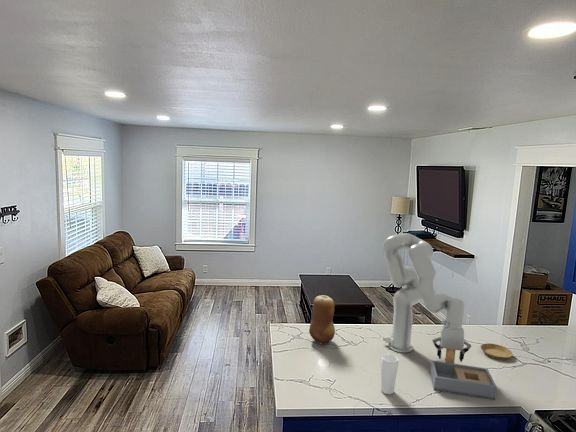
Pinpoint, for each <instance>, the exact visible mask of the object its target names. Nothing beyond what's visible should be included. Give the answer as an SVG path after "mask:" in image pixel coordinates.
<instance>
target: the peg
mask: <svg viewBox="0 0 576 432" xmlns="http://www.w3.org/2000/svg"><path fill="white" fill-rule="evenodd" d="M455 358H456V350H452V349H446V348H445V359H444V362H446V363H453V364H455Z"/></svg>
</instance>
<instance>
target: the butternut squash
mask: <svg viewBox="0 0 576 432" xmlns="http://www.w3.org/2000/svg"><path fill="white" fill-rule="evenodd" d="M334 316H335V301H334V300H333V298H331V297H330V296H328V295H323V294H321V295H318V296H316V297H315V298H314V299H313V303H312V316H311V322H310V324H309V329H308V331H309V335H310V337H311V339H313V341H315V342H317V343H318V344H320V345H327V344H329V343H331V341H332V340H333V339H334V338H335V334H336V329H335V325H334V321H333V319H334Z"/></svg>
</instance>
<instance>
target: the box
mask: <svg viewBox="0 0 576 432" xmlns="http://www.w3.org/2000/svg"><path fill="white" fill-rule="evenodd" d="M429 374H430V378H431V382H432V383H431V384H432V387H433V391H437V392H442V393H443V392H444V393H448V394H449V393H450V394H456V395H461V396H466V397H467V396H468V397H475V398H480V399H486V400H492V401H495V400H496V392H497V386H496V383H495V381H494V379H493V376H492V375H491V373H490V371H489V369H488V368H486V367H478V366H472V365H465V364H457V363H454V364H453V363H446V362H445V361H439V360H437V361H436V360H430V368H429Z"/></svg>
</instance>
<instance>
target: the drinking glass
mask: <svg viewBox="0 0 576 432" xmlns="http://www.w3.org/2000/svg"><path fill="white" fill-rule="evenodd" d="M398 367H399V358H398V357H397V356H395V355H393V354H388V353H387V354H383V355H382V356H381V363H380V390H381V392H382V393H383V394H385V395H392V394H393V393H394V392H395V386H396V379H397V374H398Z"/></svg>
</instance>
